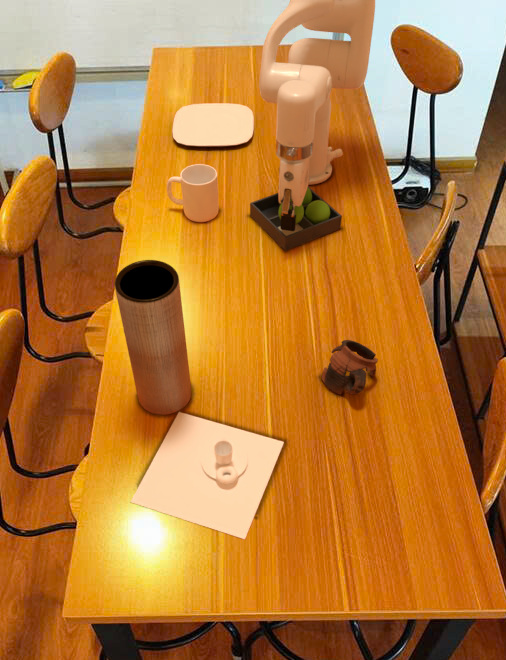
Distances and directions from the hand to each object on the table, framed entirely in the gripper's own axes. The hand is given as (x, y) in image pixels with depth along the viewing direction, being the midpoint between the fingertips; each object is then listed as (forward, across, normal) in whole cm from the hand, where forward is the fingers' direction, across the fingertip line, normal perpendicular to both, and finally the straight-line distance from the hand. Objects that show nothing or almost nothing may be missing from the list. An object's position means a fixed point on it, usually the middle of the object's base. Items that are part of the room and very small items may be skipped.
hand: (290, 220), depth 153 cm
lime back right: (+1, +5, -5) cm, 8 cm away
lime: (-2, 0, 0) cm, 2 cm away
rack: (+4, +5, 0) cm, 7 cm away
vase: (+5, -51, +13) cm, 53 cm away
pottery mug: (+5, -40, -20) cm, 45 cm away
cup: (+4, +4, +24) cm, 25 cm away
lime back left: (+1, +10, 0) cm, 11 cm away
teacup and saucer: (+5, -65, 0) cm, 65 cm away
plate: (+4, +41, +30) cm, 51 cm away
